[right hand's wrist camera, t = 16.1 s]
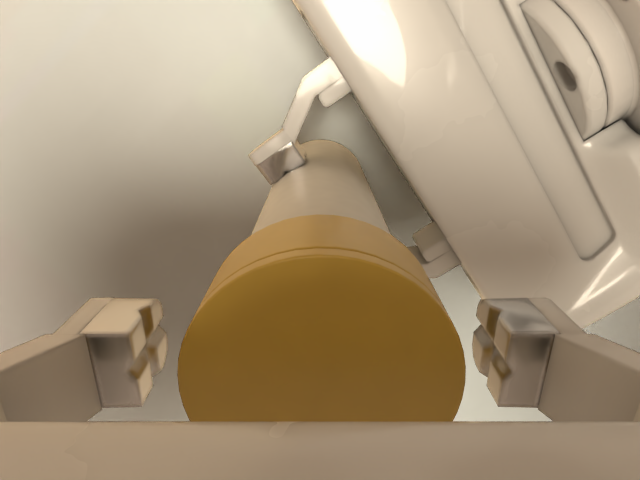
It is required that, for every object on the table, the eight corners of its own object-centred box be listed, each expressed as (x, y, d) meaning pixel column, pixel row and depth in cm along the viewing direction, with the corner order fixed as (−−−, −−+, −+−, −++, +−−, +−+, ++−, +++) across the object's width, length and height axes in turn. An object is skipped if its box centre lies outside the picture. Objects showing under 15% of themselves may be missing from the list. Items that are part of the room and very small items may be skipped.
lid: (291, 163, 9) (281, 192, 7) (483, 298, 10) (527, 359, 8) (166, 344, 10) (126, 413, 8) (344, 442, 12) (349, 526, 9)
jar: (371, 147, 23) (467, 283, 8) (354, 229, 24) (406, 469, 10) (284, 132, 23) (213, 243, 8) (272, 216, 24) (196, 441, 9)
